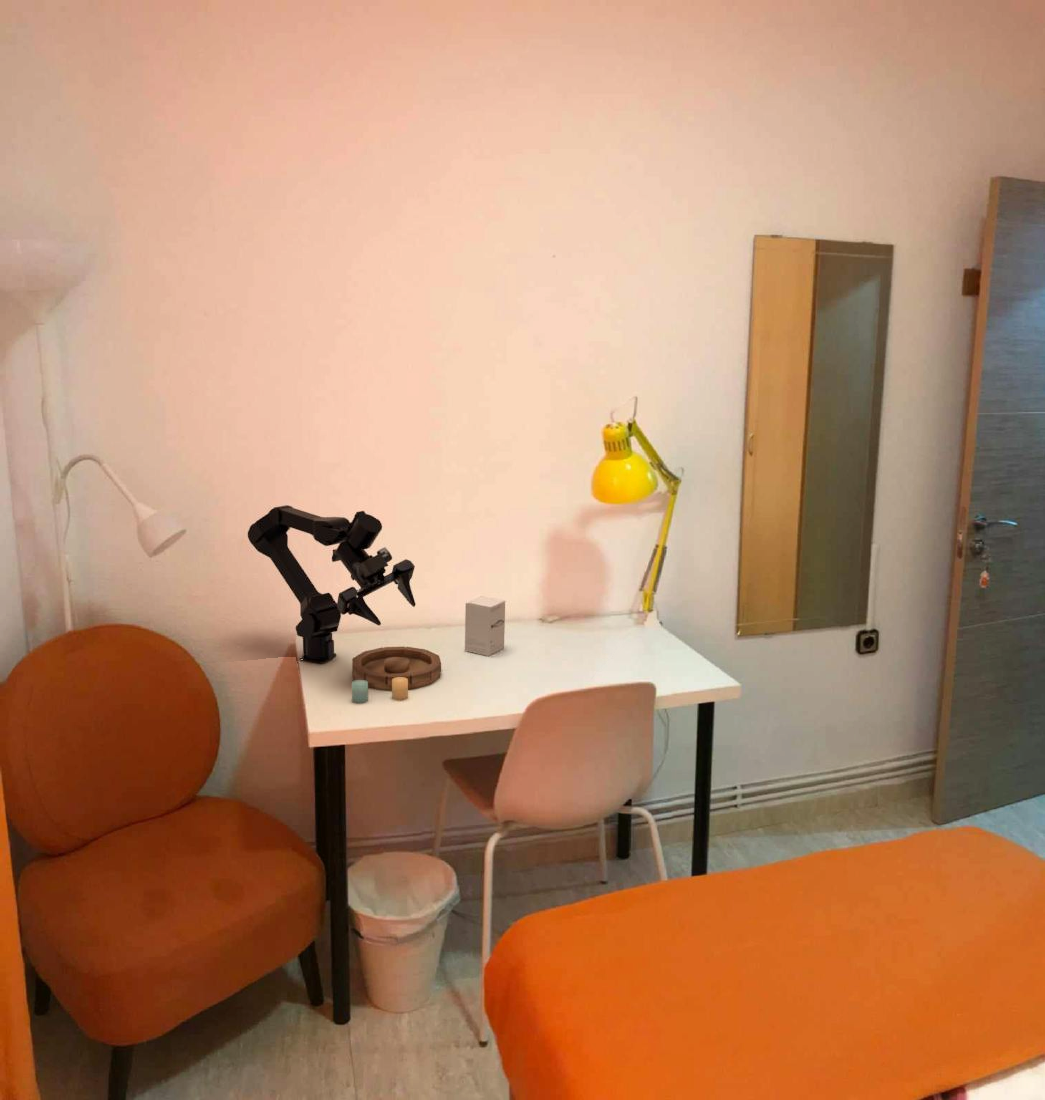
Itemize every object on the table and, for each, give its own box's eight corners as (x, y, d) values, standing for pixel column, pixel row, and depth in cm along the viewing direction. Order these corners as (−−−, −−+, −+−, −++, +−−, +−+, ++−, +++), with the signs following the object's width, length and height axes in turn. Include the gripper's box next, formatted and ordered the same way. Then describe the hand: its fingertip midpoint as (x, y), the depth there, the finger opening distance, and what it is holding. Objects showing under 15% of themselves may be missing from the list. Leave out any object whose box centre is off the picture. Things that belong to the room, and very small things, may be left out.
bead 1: (349, 701, 212) (348, 684, 211) (356, 696, 215) (356, 679, 214) (363, 704, 211) (362, 686, 210) (370, 698, 214) (370, 681, 213)
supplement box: (489, 657, 242) (489, 607, 239) (463, 651, 245) (464, 602, 242) (505, 648, 248) (506, 600, 245) (480, 643, 251) (481, 595, 248)
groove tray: (336, 682, 223) (335, 668, 222) (378, 654, 241) (378, 642, 240) (416, 695, 216) (416, 682, 215) (454, 666, 234) (454, 653, 234)
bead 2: (389, 698, 214) (389, 681, 213) (396, 693, 217) (396, 676, 216) (403, 701, 213) (403, 683, 212) (410, 695, 216) (410, 678, 215)
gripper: (324, 561, 212) (365, 616, 207) (397, 525, 221) (437, 577, 216) (321, 587, 221) (360, 641, 216) (391, 552, 230) (429, 603, 225)
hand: (397, 614), depth 218 cm, fingers open, 9 cm apart
